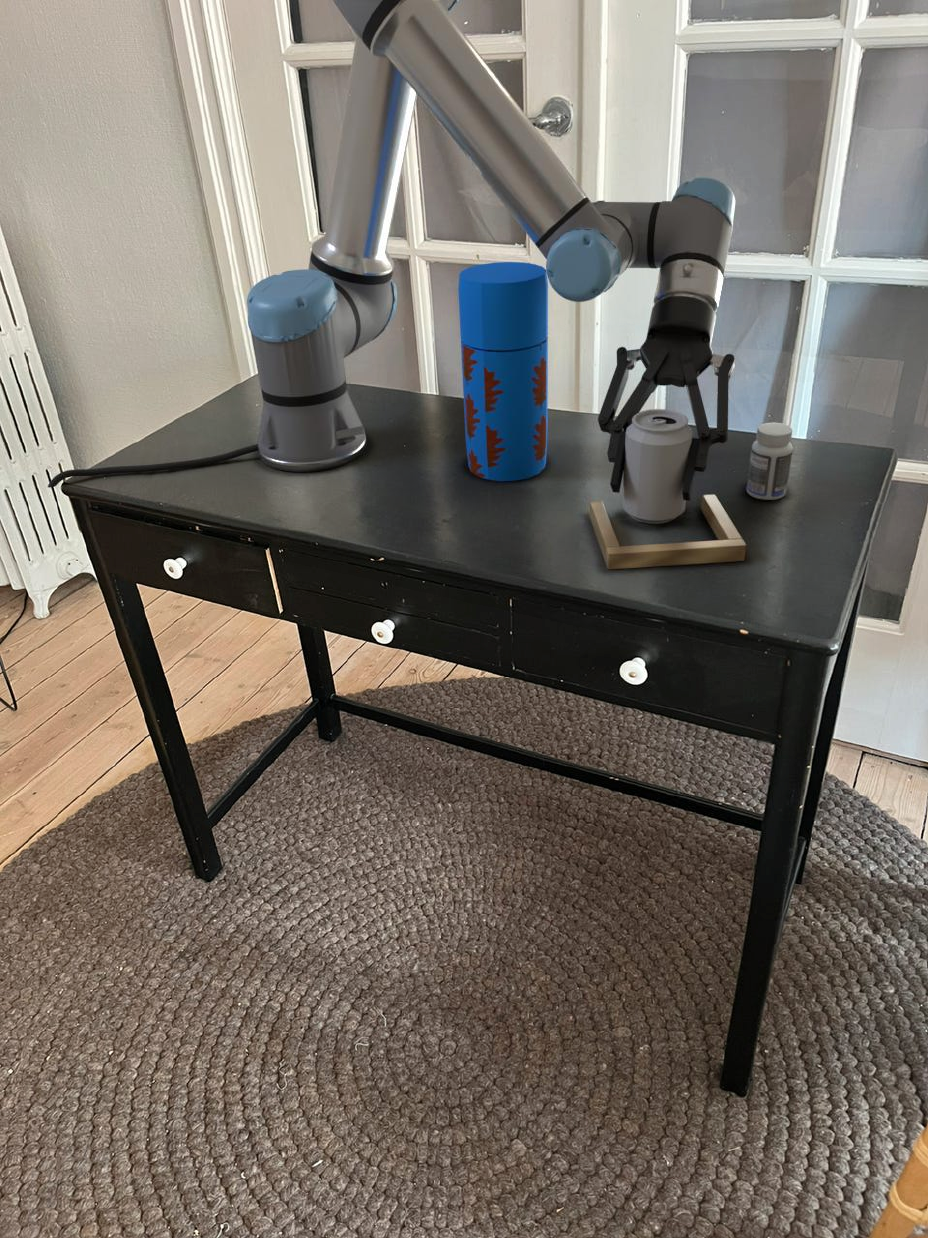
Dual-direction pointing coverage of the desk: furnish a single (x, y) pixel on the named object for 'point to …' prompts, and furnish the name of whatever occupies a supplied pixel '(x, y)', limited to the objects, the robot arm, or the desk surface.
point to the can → (656, 465)
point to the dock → (673, 553)
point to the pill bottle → (770, 461)
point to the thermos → (505, 368)
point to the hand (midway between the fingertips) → (650, 492)
